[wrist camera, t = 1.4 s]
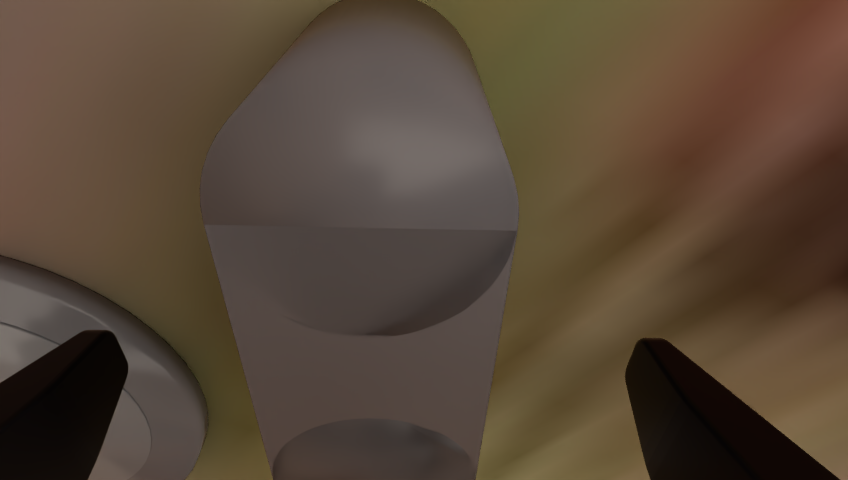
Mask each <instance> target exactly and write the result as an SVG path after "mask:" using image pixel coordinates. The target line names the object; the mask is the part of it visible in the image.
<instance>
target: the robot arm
mask: <svg viewBox="0 0 848 480" xmlns="http://www.w3.org/2000/svg"><path fill="white" fill-rule="evenodd" d="M127 375H128V362H127V359H126V357H125V355H124V353H123V351H122V348H121V346H120V344H119V342H118V340H117V338H116V336H115V334H114V333H113V332H111V331H109V330H84V331H82V332H80V333H78V334H77V335H75V336H73V337H72V338H70V339H69V340H67V341H66V342H64V343H62V344H61V345H59V346H58V347H56V348H54V349H53V350H51V351H50V352H48V353H46V354H45V355H43V356H42V357H40V358H39V359H37V360H35V361H34V362H32V363H31V364H29V365H27V366H26V367H24V368H23V369H21V370H20V371H18V372H16V373H15V374H13V375H12V376H10V377H8V378H7V379H5V380H4V381H2V382H0V480H88V478H89V476H90V474H91V472H92V470H93V468H94V465H95V463H96V461H97V458H98V456H99V453H100V451H101V448H102V446H103V443H104V440H105V437H106V434H107V432H108V429H109V426H110V423H111V421H112V418H113V415H114V412H115V409H116V407H117V404H118V401H119V398H120V395H121V393H122V390H123V387H124V384H125V382H126V379H127ZM625 380H626V385H627V390H628V394H629V398H630V402H631V406H632V411H633V415H634V419H635V423H636V427H637V432H638V436H639V440H640V444H641V448H642V452H643V456H644V460H645V464H646V467H647V470H648V473H649V476H650V479H651V480H840V479H839V478H837V477H836V476H835V475H834V474H832V473H831V472H830V471H829V470H827V469H826V468H825V467H824V466H822V465H821V464H820V463H819V462H817V461H816V460H815V459H814V458H812V457H811V456H810V455H809V454H808V453H806V452H805V451H804V450H803V449H801V448H800V447H799V446H798V445H796V444H795V443H794V442H793V441H791V440H790V439H789V438H788V437H786V436H785V435H784V434H783V433H781V432H780V431H779V430H778V429H776V428H775V427H774V426H773V425H771V424H770V423H769V422H768V421H766V420H765V419H764V418H763V417H761V416H760V415H759V414H758V413H757V412H755V411H754V410H753V409H752V408H750V407H749V406H748V405H747V404H745V403H744V402H743V401H742V400H740V399H739V398H738V397H737V396H735V395H734V394H733V393H732V392H730V391H729V390H728V389H727V388H725V387H724V386H723V385H722V384H720V383H719V382H718V381H717V380H715V379H714V378H713V377H712V376H710V375H709V374H708V373H707V372H706V371H704V370H703V369H702V368H701V367H699V366H698V365H697V364H696V363H694V362H693V361H692V360H691V359H689V358H688V357H687V356H686V355H684V354H683V353H682V352H681V351H679V350H678V349H677V348H676V347H674V346H673V345H672V344H671V343H669V342H668V341H667V340H665V339H661V338H641V339H640V340H638V341H637V343H636V345H635V348H634V350H633V352H632V355H631V357H630V360H629V362H628V365H627V368H626V372H625Z"/></svg>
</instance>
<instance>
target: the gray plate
mask: <svg viewBox="0 0 848 480" xmlns="http://www.w3.org/2000/svg"><path fill="white" fill-rule="evenodd" d="M84 330H109V331H111V332H113V333H114V334H115V336H116V338H117V340H118V342H119V344H120V346H121V348H122V351H123V353H124V355H125V357H126V359H127V362H128V375H127V379H126V382H125V384H124V387H123V390H122V393H121V395H120V398H119V401H118V404H117V407H116V409H115V412H114V415H113V418H112V421H111V423H110V426H109V429H108V432H107V434H106V437H105V440H104V443H103V446H102V448H101V451H100V453H99V456H98V458H97V461H96V463H95V465H94V468H93V470H92V472H91V474H90V476H89V478H88V480H185V479H186V477H187V476H188V475H189V474H190V472H191V471H192V470H193V467H194V465H195V463H196V461H197V459H198V457H199V454H200V451H201V449H202V446H203V444H204V441H205V439H206V435H207V430H208V425H209V424H208V409H207V405H206V401H205V397H204V395H203V392H202V390H201V388H200V386H199V384H198V382H197V380H196V378H195V377H194V375H193V374H192V372H191V371H190V369H189V368H188V366H187V365H186V363H185V362H184V361H183V360H182V359H181V358H180V357H179V355H178V354H177V353H176V352H175V351H174V350H173V349H172V347H171V346H170V345H168V344H167V343H166V342H165V341H164V340H163V339H162V338H161V337H160V336H159V335H157V334H156V333H155V332H154V331H153V330H152V329H151V328H149V327H148V326H147V325H145V324H144V323H143V322H141V321H140V320H138V319H137V318H136V317H134V316H133V315H132V314H130V313H129V312H127V311H126V310H124V309H122V308H121V307H119V306H118V305H116V304H114V303H113V302H111V301H110V300H108V299H106V298H105V297H103V296H101V295H99V294H97V293H95V292H93V291H91V290H89V289H87V288H85V287H83V286H81V285H79V284H77V283H75V282H73V281H71V280H68V279H66V278H63V277H61V276H59V275H56V274H54V273H51V272H49V271H47V270H44V269H41V268H38V267H35V266H32V265H29V264H26V263H23V262H20V261H17V260H14V259H11V258H7V257H3V256H0V382H2V381H4V380H5V379H7V378H8V377H10V376H12V375H13V374H15V373H16V372H18V371H20V370H21V369H23V368H24V367H26V366H27V365H29V364H31V363H32V362H34V361H35V360H37V359H39V358H40V357H42V356H43V355H45V354H46V353H48V352H50V351H51V350H53V349H54V348H56V347H58V346H59V345H61V344H62V343H64V342H66V341H67V340H69V339H70V338H72V337H73V336H75V335H77V334H78V333H80V332H82V331H84Z"/></svg>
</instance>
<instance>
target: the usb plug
mask: <svg viewBox="0 0 848 480" xmlns="http://www.w3.org/2000/svg"><path fill="white" fill-rule="evenodd" d="M200 207H201V212H202V218H203V223H204V227H205V231H206V234H207V238H208V242H209V245H210V249H211V253H212V256H213V260H214V264H215V267H216V271H217V275H218V278H219V282H220V286H221V289H222V293H223V297H224V300H225V304H226V308H227V311H228V315H229V319H230V322H231V326H232V330H233V333H234V337H235V341H236V344H237V348H238V352H239V355H240V359H241V363H242V366H243V370H244V374H245V377H246V381H247V385H248V388H249V392H250V396H251V399H252V403H253V407H254V410H255V414H256V418H257V421H258V425H259V429H260V432H261V436H262V440H263V443H264V447H265V451H266V454H267V458H268V462H269V465H270V469H271V473H272V476H273V480H475V479H476V473H477V467H478V461H479V455H480V449H481V443H482V437H483V431H484V426H485V420H486V414H487V408H488V402H489V396H490V390H491V384H492V378H493V372H494V366H495V361H496V355H497V349H498V343H499V337H500V331H501V325H502V319H503V313H504V307H505V301H506V296H507V290H508V284H509V278H510V272H511V266H512V260H513V254H514V248H515V242H516V236H517V230H518V219H519V205H518V194H517V190H516V185H515V181H514V177H513V174H512V171H511V168H510V165H509V162H508V159H507V156H506V153H505V151H504V148H503V145H502V142H501V139H500V136H499V133H498V130H497V127H496V124H495V122H494V119H493V116H492V113H491V110H490V107H489V104H488V101H487V98H486V95H485V93H484V90H483V87H482V84H481V81H480V78H479V75H478V72H477V69H476V66H475V64H474V61H473V58H472V56H471V53H470V51H469V49H468V47H467V45H466V43H465V41H464V40H463V38H462V37H461V35H460V34H459V33H458V31H457V30H456V29H455V27H454V26H453V25H452V24H451V23H450V22H449V21H448V20H447V19H446V18H445V17H443V16H442V15H441V14H440V13H438V12H437V11H436V10H434V9H433V8H431V7H429V6H428V5H426V4H424V3H422V2H420V1H417V0H341V1H339V2H337V3H336V4H334V5H332V6H330V7H329V8H327V9H326V10H325V11H323V12H322V13H320V14H319V15H318V16H317V17H316V18H315V19H314V20H313V21H312V22H311V23H310V24H309V25H308V27H307V28H306V29H305V30H304V31H303V32H302V33H301V35H300V36H299V37H298V38H297V39H296V40H295V42H294V43H293V44H292V45H291V46H290V47H289V49H288V50H287V51H286V52H285V53H284V54H283V56H282V57H281V58H280V59H279V60H278V61H277V63H276V64H275V65H274V66H273V67H272V68H271V70H270V71H269V72H268V73H267V74H266V75H265V77H264V78H263V79H262V80H261V81H260V82H259V83H258V85H257V86H256V87H255V88H254V89H253V90H252V92H251V93H250V94H249V95H248V96H247V97H246V99H245V100H244V101H243V102H242V103H241V104H240V106H239V107H238V108H237V109H236V110H235V111H234V113H233V114H232V115H231V116H230V117H229V118H228V120H227V121H226V122H225V124H224V125H223V127H222V128H221V129H220V131H219V132H218V133H217V135H216V137H215V139H214V141H213V143H212V145H211V147H210V149H209V151H208V153H207V156H206V159H205V163H204V166H203V169H202V176H201V183H200Z"/></svg>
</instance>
